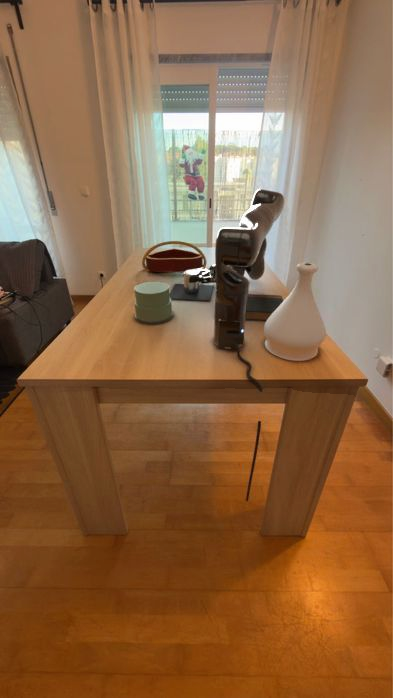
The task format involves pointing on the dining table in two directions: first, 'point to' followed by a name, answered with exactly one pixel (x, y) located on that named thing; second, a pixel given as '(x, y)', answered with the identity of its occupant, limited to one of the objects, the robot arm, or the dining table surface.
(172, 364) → the dining table surface
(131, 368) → the dining table surface
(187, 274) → the steel cup
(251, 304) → the book
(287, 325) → the vase
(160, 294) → the green round container
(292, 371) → the dining table surface
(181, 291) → the slate mat
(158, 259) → the decorative basket
